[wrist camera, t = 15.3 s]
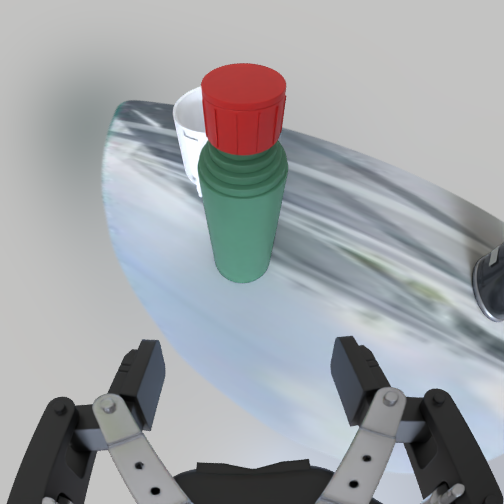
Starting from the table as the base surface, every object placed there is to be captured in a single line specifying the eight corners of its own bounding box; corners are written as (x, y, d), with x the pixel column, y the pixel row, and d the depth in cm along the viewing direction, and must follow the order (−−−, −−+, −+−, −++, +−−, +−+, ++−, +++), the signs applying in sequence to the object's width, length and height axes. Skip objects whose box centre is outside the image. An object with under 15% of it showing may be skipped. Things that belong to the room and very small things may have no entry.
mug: (204, 134, 38) (197, 79, 29) (266, 149, 37) (272, 92, 28) (161, 200, 33) (140, 143, 24) (232, 222, 32) (229, 164, 23)
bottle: (277, 245, 31) (314, 79, 13) (256, 292, 28) (278, 138, 11) (229, 226, 32) (219, 57, 14) (205, 270, 29) (162, 108, 12)
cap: (289, 120, 15) (296, 73, 12) (263, 165, 14) (268, 112, 11) (226, 103, 16) (225, 58, 13) (192, 143, 14) (184, 93, 11)
